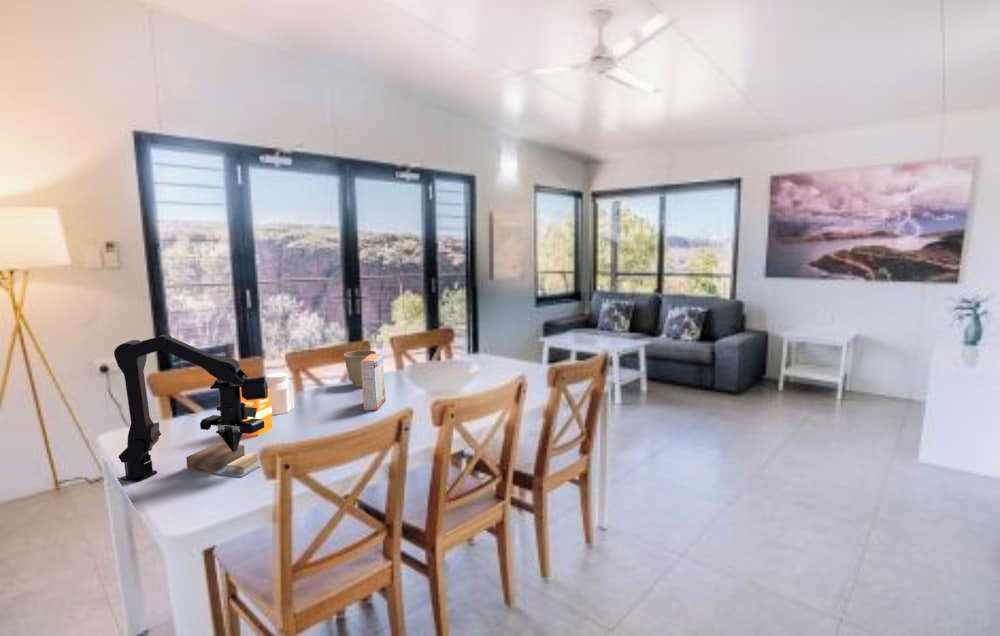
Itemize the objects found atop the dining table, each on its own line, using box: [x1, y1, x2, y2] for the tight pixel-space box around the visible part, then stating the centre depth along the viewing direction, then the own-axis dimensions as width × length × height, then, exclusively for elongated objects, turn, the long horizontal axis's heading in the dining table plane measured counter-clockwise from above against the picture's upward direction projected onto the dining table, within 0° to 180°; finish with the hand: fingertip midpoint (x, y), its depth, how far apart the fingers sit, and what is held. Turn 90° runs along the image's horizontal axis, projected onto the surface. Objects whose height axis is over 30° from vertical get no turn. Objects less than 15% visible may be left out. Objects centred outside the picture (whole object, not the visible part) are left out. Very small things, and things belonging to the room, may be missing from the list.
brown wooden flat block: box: [185, 442, 246, 474], centre depth 157 cm, size 10×12×4 cm
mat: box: [212, 465, 261, 478], centre depth 155 cm, size 10×13×1 cm
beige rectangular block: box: [227, 452, 259, 473], centre depth 154 cm, size 6×9×2 cm, turn 165°
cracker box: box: [361, 353, 386, 411], centre depth 213 cm, size 14×6×21 cm, turn 178°
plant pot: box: [343, 349, 377, 389], centre depth 246 cm, size 15×15×16 cm
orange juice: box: [240, 376, 273, 436], centre depth 184 cm, size 8×9×20 cm
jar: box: [265, 372, 295, 416], centre depth 209 cm, size 12×10×15 cm
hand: (234, 451), depth 155 cm, fingers closed
